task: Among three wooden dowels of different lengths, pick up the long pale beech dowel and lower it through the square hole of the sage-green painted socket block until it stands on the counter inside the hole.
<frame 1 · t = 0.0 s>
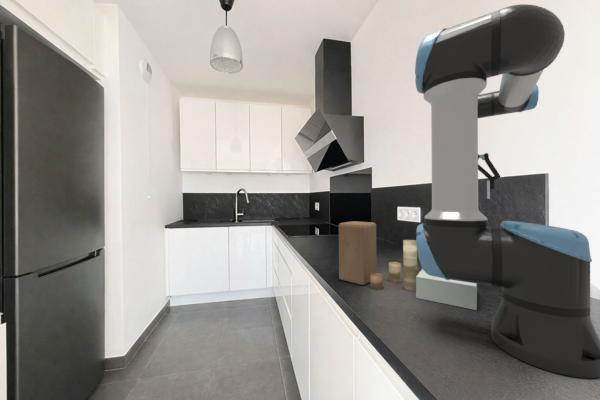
hand: (465, 199, 94), 28 cm above the worktop, fingers open, 13 cm apart
wooden block: (357, 280, 87), on the worktop
socket block: (447, 295, 72), on the worktop
dowel mid: (394, 280, 85), on the worktop
dowel short: (376, 287, 79), on the worktop
dowel long: (410, 288, 78), on the worktop
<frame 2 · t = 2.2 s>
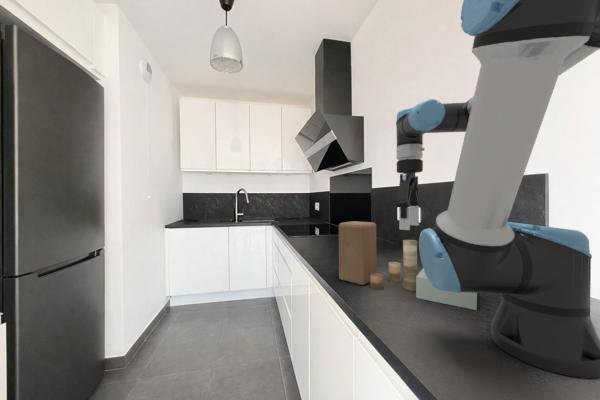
hand: (409, 227, 78), 19 cm above the worktop, fingers open, 13 cm apart
nothing on the worktop moved.
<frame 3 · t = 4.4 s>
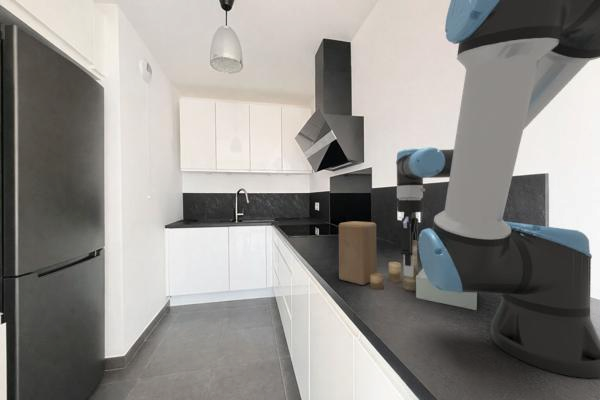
hand: (410, 273, 78), 5 cm above the worktop, fingers closed on dowel long, 4 cm apart
dowel long: (410, 288, 78), on the worktop, touching gripper
everything else where it was.
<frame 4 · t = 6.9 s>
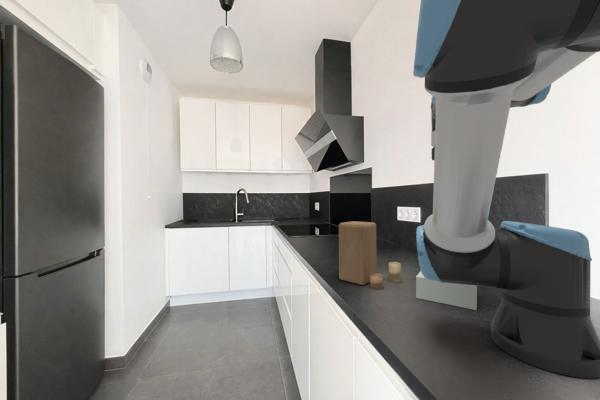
hand: (446, 226, 72), 20 cm above the worktop, fingers closed on dowel long, 4 cm apart
dowel long: (446, 241, 72), point 16 cm above the worktop, touching gripper
everything else where it was.
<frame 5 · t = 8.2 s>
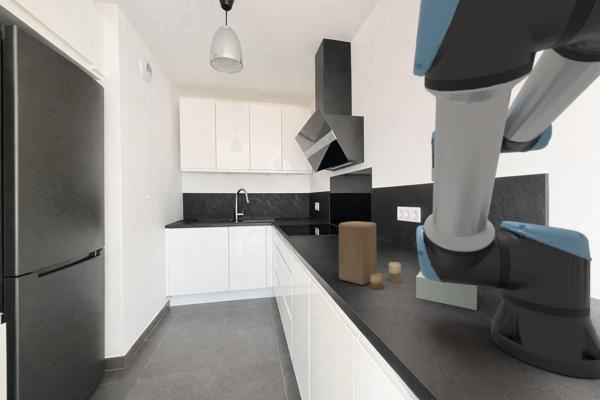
hand: (446, 262, 72), 10 cm above the worktop, fingers closed on dowel long, 4 cm apart
dowel long: (447, 278, 72), point 5 cm above the worktop, touching gripper
everything else where it was.
when the fingers open (7 cm above the worktop, at t = 9.3 s): dowel long drops 2 cm, resting in socket block.
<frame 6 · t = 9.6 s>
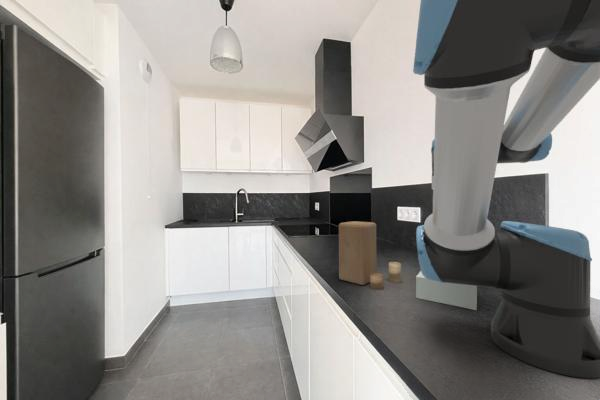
hand: (447, 268, 72), 8 cm above the worktop, fingers open, 8 cm apart
dowel long: (447, 295, 72), resting in socket block
everything else where it was.
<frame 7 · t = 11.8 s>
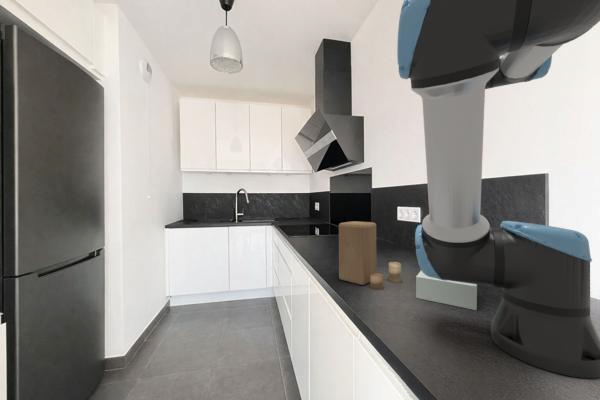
hand: (456, 193, 77), 30 cm above the worktop, fingers open, 13 cm apart
nothing on the worktop moved.
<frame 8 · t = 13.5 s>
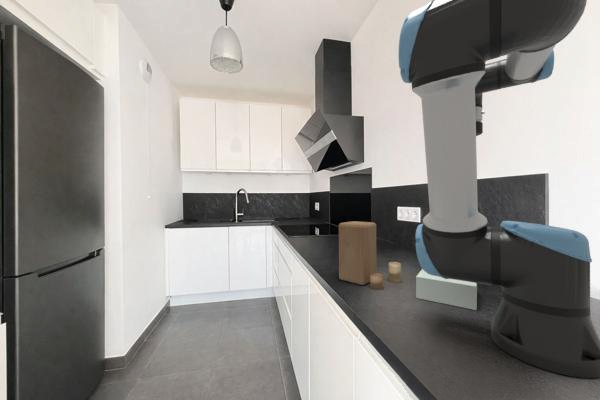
hand: (469, 187, 82), 32 cm above the worktop, fingers open, 13 cm apart
nothing on the worktop moved.
at the end: dowel long 0.1 cm off-centre on the socket block, point 0.0 cm above the socket block's base; dowel long tilted 0°; the gripper is holding nothing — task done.
